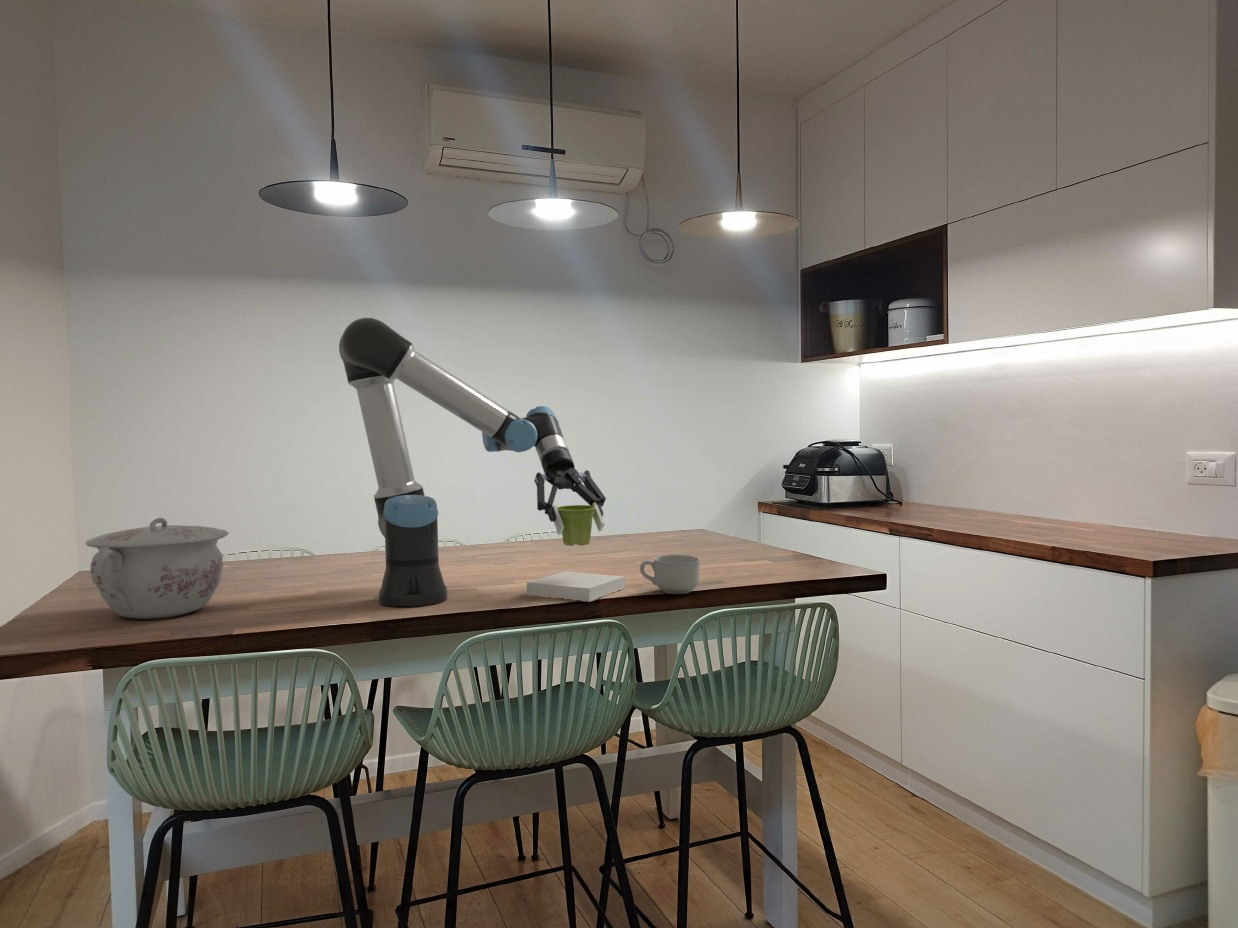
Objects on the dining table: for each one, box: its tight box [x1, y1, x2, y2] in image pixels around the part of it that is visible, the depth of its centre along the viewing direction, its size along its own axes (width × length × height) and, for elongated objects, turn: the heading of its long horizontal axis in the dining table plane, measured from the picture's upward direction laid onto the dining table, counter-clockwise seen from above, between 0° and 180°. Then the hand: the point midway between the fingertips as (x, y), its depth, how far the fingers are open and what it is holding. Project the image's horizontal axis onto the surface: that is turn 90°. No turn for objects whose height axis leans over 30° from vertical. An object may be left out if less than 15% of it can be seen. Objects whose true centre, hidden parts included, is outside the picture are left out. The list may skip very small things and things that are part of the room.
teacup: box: [639, 553, 701, 595], centre depth 202 cm, size 14×11×8 cm
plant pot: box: [557, 504, 596, 547], centre depth 202 cm, size 9×9×9 cm
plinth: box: [526, 570, 626, 603], centre depth 203 cm, size 17×16×3 cm
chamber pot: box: [84, 517, 230, 620], centre depth 187 cm, size 28×28×21 cm
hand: (581, 529), depth 200 cm, fingers closed on plant pot, 9 cm apart
